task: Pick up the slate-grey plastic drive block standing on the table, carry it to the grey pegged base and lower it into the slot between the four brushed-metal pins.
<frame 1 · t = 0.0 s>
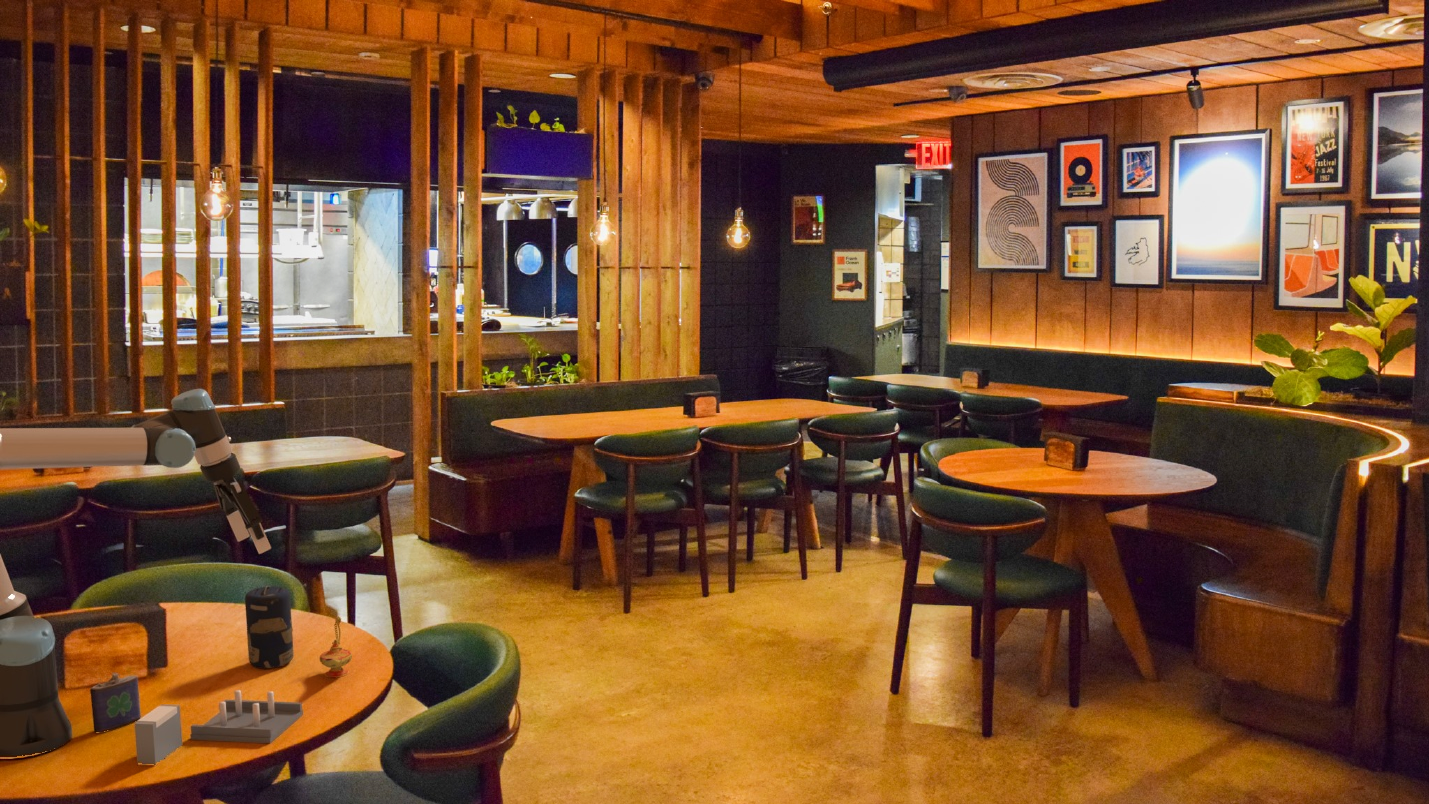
hand: (254, 544, 270), 28 cm above the table, tool tilted 20°, fingers open, 13 cm apart
flask: (118, 726, 241), on the table
magic lamp: (335, 677, 267), on the table
canister: (271, 664, 275), on the table
drive: (160, 755, 228), on the table
grey pegged base: (248, 726, 240), on the table
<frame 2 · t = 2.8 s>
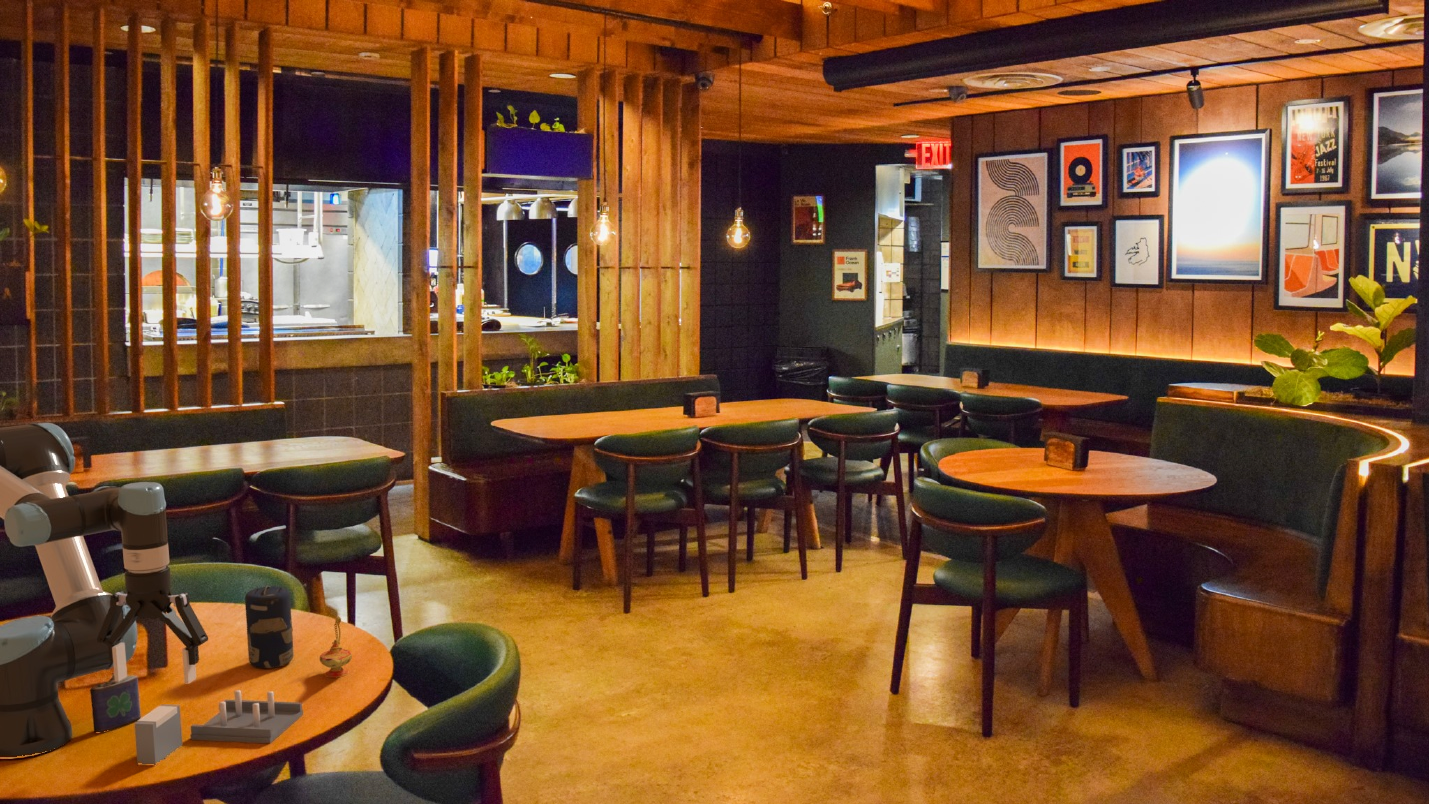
hand: (155, 680, 225), 15 cm above the table, tool pointing down, fingers open, 13 cm apart
nothing on the table moved.
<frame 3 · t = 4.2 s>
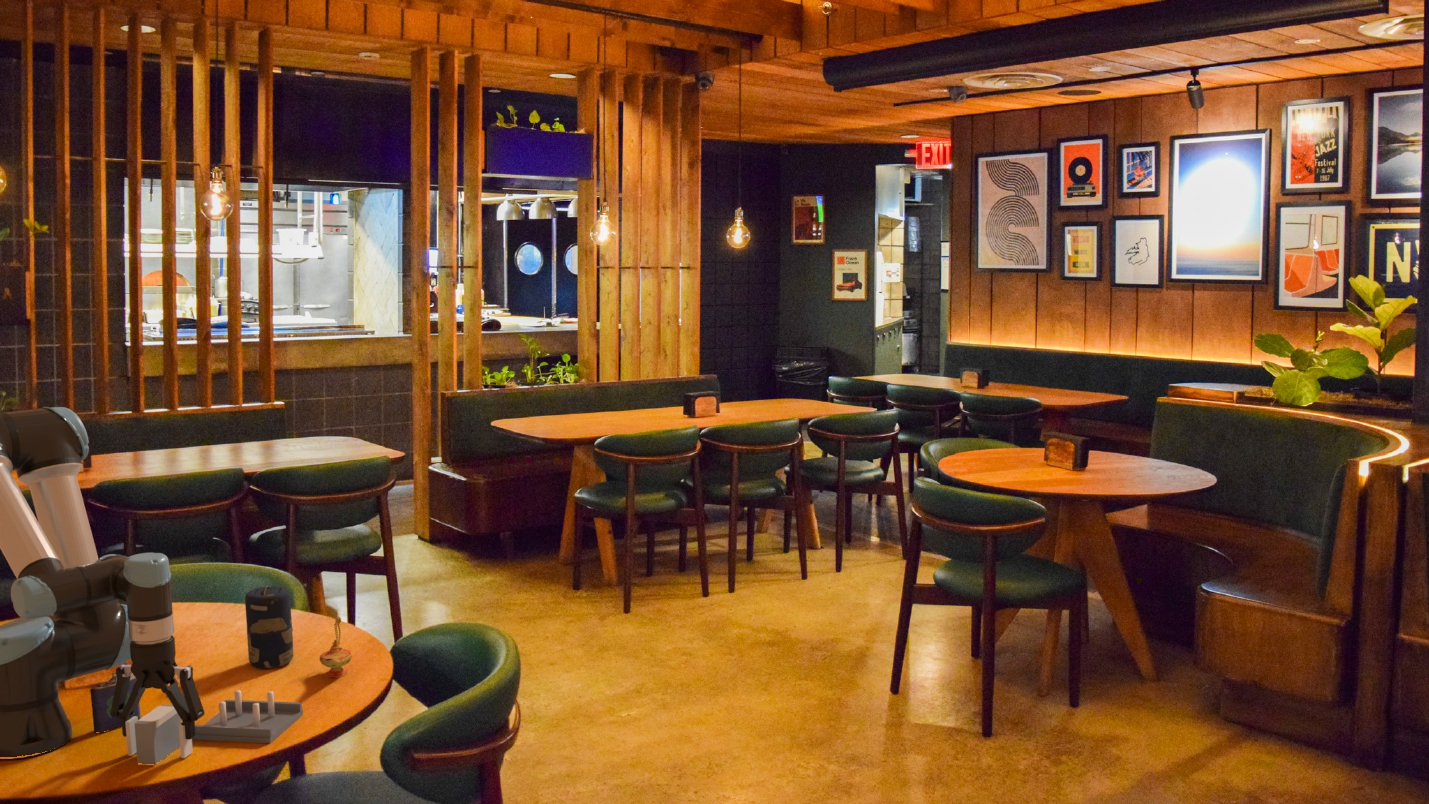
hand: (160, 753, 227), 0 cm above the table, tool pointing down, fingers open, 10 cm apart
nothing on the table moved.
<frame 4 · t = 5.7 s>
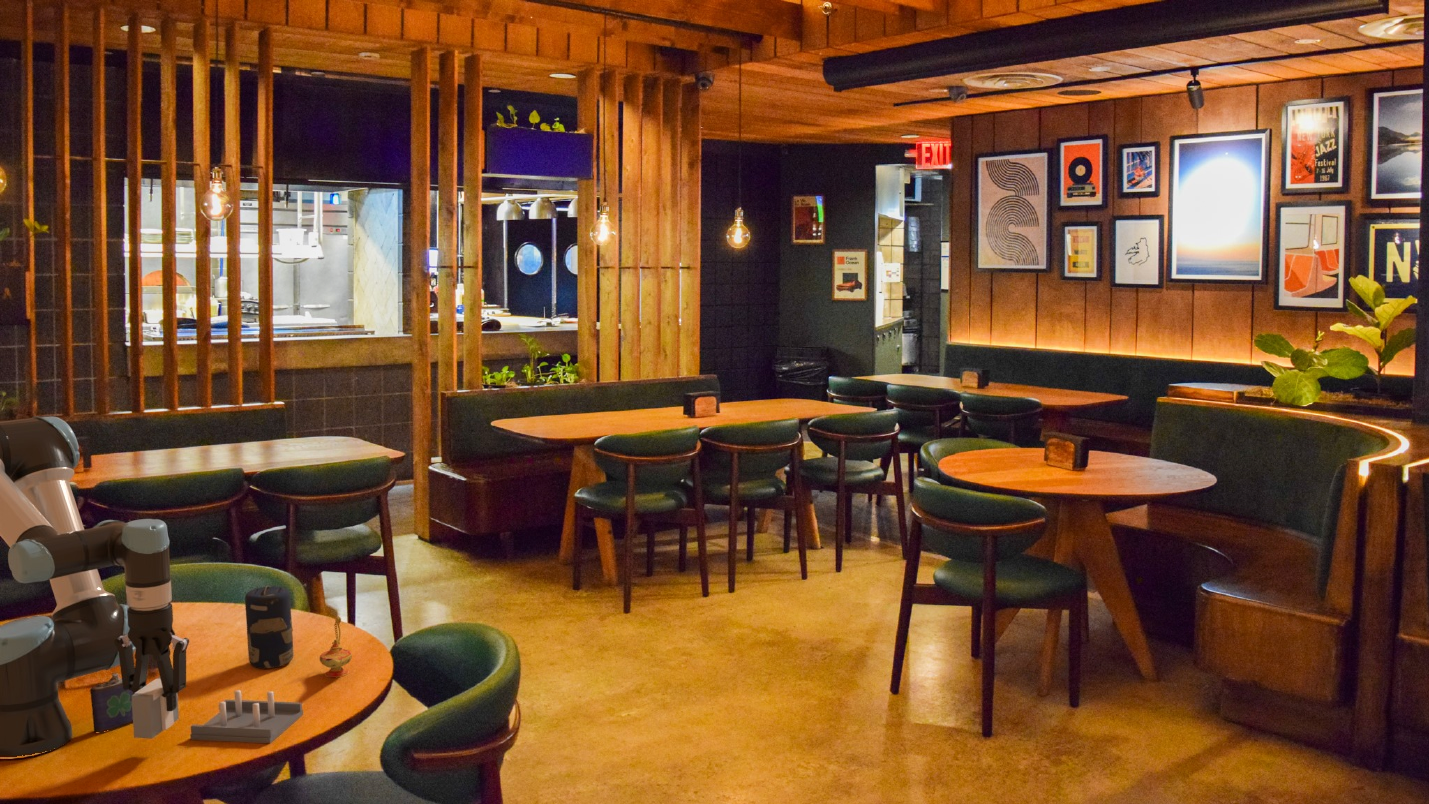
hand: (156, 725, 227), 6 cm above the table, tool pointing down, fingers closed on drive, 4 cm apart
drive: (156, 727, 227), point 5 cm above the table, touching gripper
everything else where it was.
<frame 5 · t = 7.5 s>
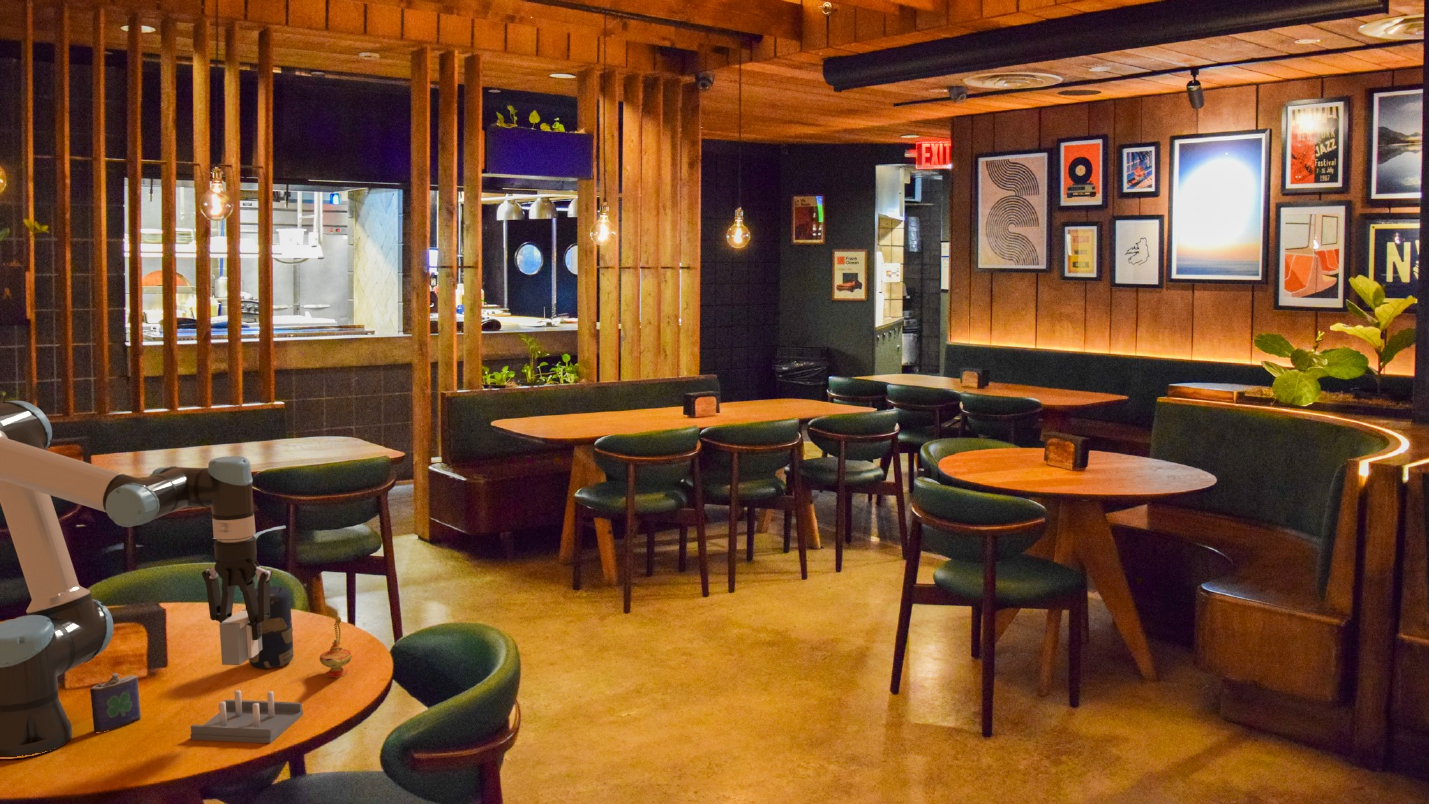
hand: (242, 655, 238), 15 cm above the table, tool pointing down, fingers closed on drive, 4 cm apart
drive: (242, 656, 238), point 14 cm above the table, touching gripper
everything else where it was.
when the fingers open (2 cm above the table, at t = 9.5 s): drive stays where it is, resting on grey pegged base.
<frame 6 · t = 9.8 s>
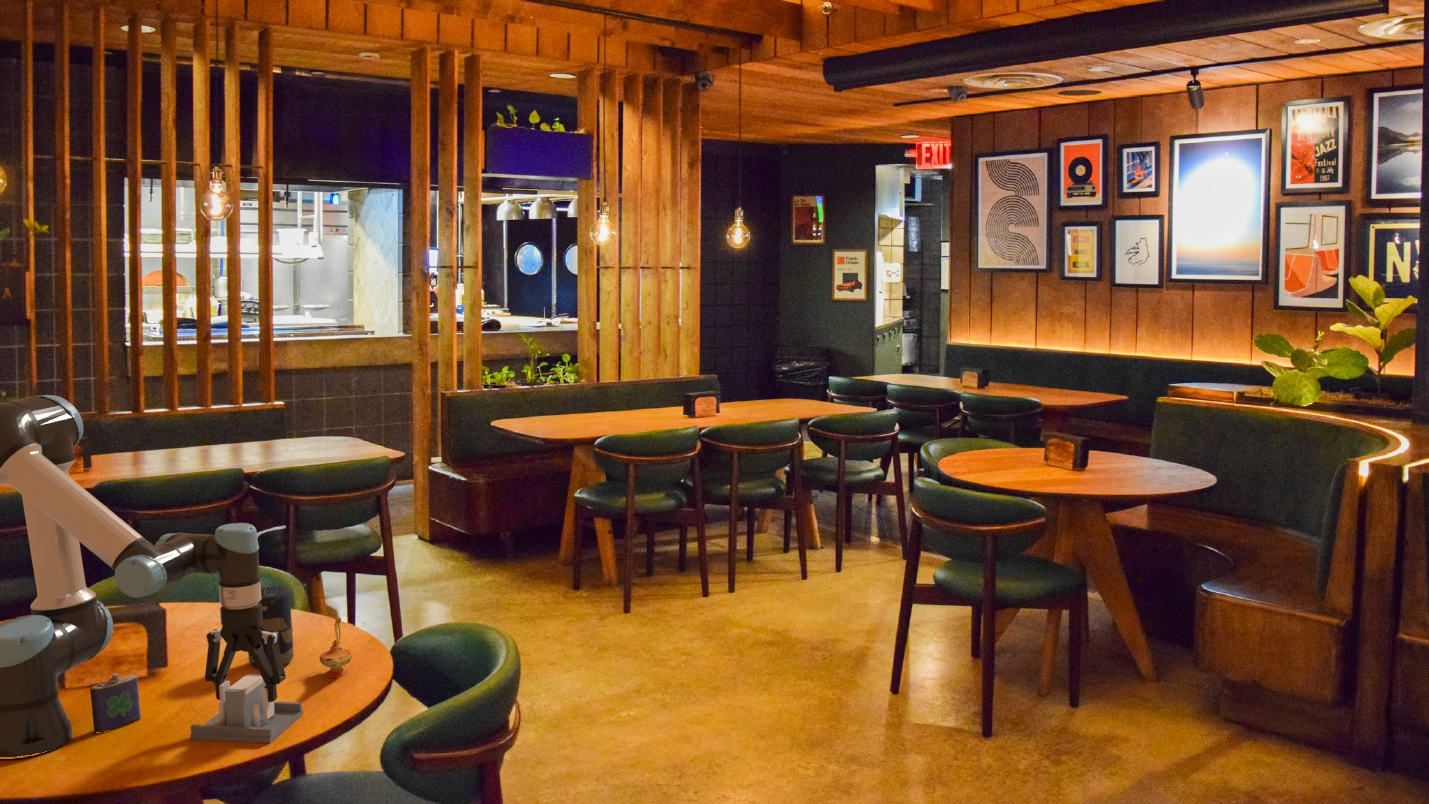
hand: (247, 715, 240), 2 cm above the table, tool pointing down, fingers open, 8 cm apart
drive: (247, 722, 240), point 1 cm above the table, touching grey pegged base
everything else where it was.
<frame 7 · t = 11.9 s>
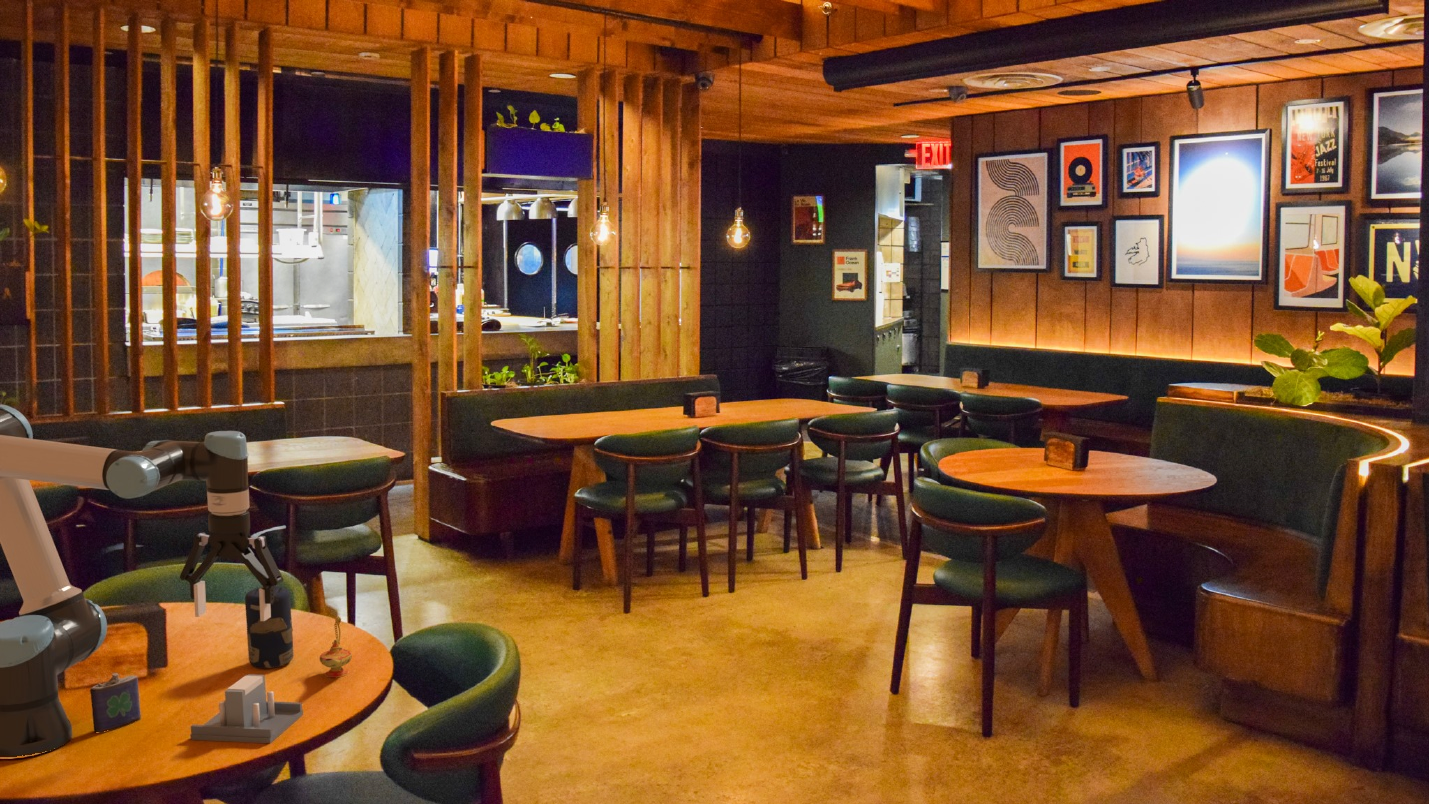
hand: (233, 617, 240), 21 cm above the table, tool pointing down, fingers open, 13 cm apart
nothing on the table moved.
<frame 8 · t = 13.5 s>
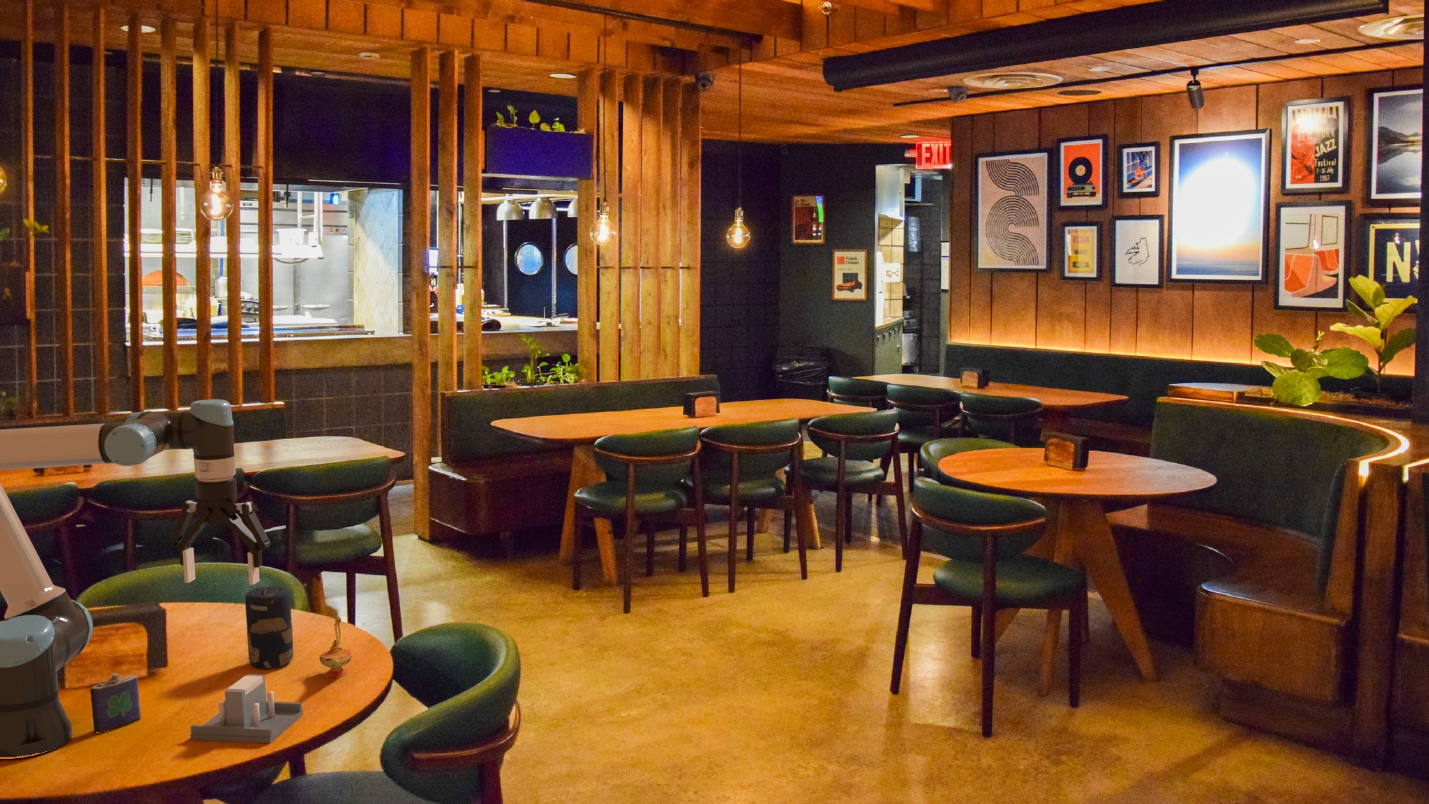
hand: (222, 582, 245), 27 cm above the table, tool pointing down, fingers open, 13 cm apart
nothing on the table moved.
at the end: drive inside the target area on the grey pegged base (0.1 cm from its centre), point 1.0 cm above the grey pegged base's base; drive tilted 0°; the gripper is holding nothing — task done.
